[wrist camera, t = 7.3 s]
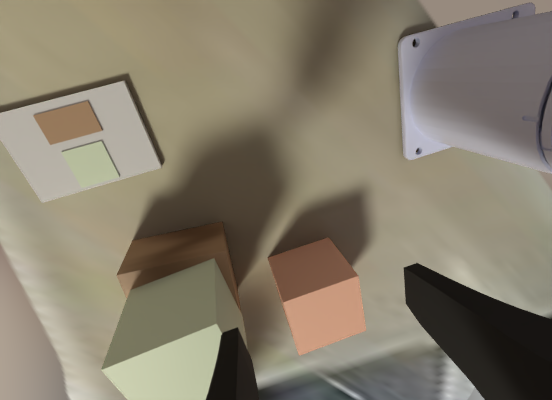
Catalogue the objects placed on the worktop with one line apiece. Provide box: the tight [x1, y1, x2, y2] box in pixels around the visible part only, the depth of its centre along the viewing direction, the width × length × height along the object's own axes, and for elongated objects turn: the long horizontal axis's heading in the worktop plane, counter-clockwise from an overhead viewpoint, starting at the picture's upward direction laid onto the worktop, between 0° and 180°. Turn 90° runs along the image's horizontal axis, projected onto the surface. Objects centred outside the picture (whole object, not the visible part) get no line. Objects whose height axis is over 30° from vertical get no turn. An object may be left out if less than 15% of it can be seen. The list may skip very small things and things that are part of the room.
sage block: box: [101, 258, 248, 400], centre depth 15 cm, size 5×5×5 cm
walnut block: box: [117, 222, 241, 312], centre depth 19 cm, size 6×6×4 cm
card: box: [0, 81, 162, 203], centre depth 16 cm, size 7×5×1 cm
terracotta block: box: [268, 237, 366, 355], centre depth 21 cm, size 5×5×5 cm
